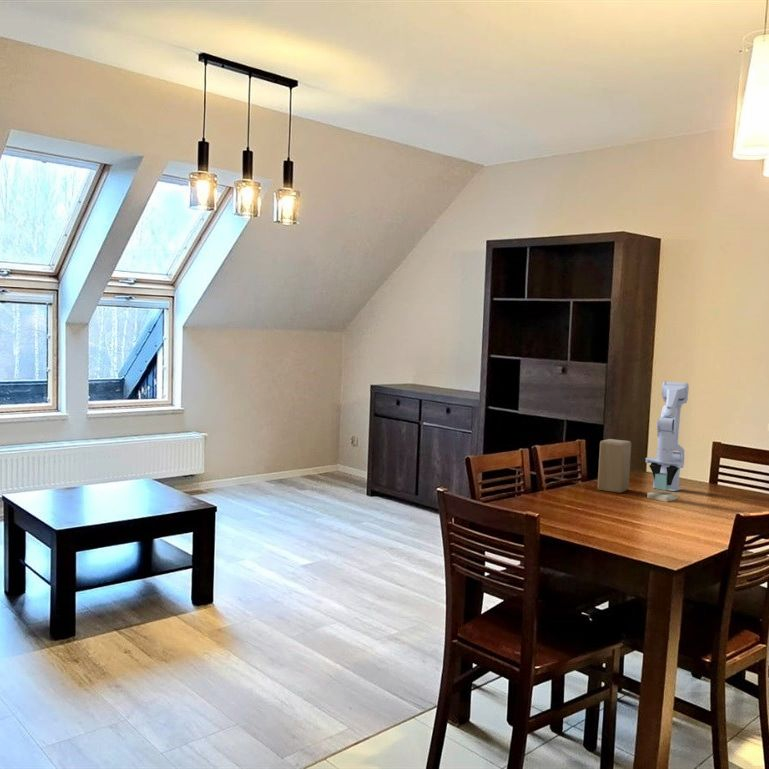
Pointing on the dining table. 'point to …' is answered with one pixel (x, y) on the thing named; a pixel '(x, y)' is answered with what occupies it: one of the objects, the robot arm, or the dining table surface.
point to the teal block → (661, 481)
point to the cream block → (662, 496)
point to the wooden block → (614, 465)
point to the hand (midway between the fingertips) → (662, 483)
